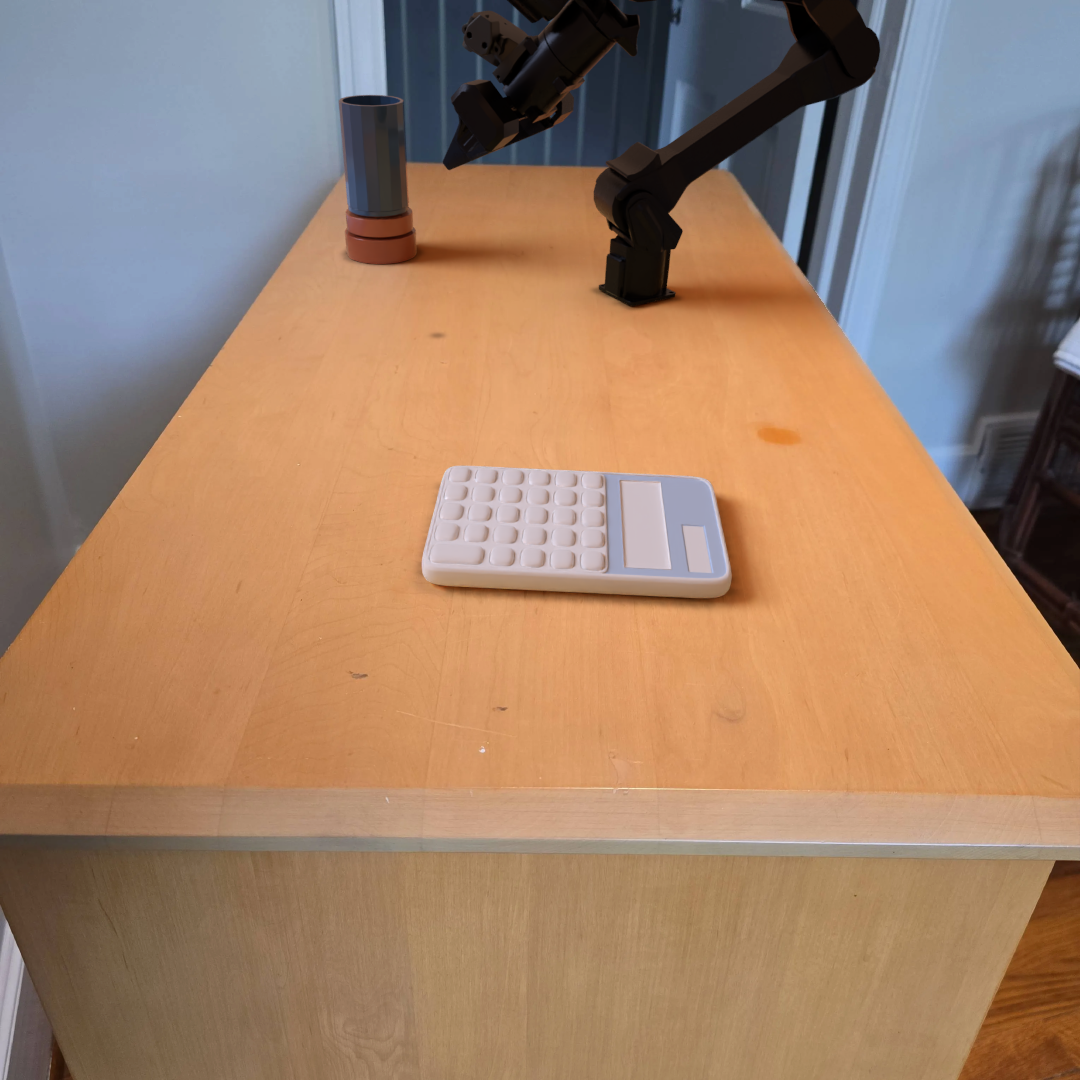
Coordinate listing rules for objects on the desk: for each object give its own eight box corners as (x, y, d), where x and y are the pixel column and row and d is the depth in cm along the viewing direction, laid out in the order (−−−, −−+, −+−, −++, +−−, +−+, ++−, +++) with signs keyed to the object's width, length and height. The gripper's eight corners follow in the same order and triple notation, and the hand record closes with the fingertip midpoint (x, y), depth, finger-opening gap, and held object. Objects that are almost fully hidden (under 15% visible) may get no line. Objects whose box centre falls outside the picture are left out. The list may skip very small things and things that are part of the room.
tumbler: (416, 213, 111) (411, 104, 105) (357, 219, 109) (348, 107, 102) (398, 198, 117) (393, 93, 110) (341, 203, 114) (332, 96, 107)
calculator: (445, 481, 71) (444, 459, 70) (709, 493, 70) (713, 471, 69) (418, 587, 60) (417, 563, 59) (732, 603, 59) (736, 579, 58)
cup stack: (398, 239, 121) (395, 196, 118) (428, 257, 115) (427, 212, 112) (335, 248, 117) (331, 204, 114) (364, 268, 111) (360, 222, 108)
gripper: (551, -24, 97) (459, 83, 107) (468, -15, 83) (370, 108, 92) (617, 67, 99) (520, 164, 108) (546, 91, 84) (442, 200, 94)
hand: (466, 157), depth 101 cm, fingers open, 9 cm apart
